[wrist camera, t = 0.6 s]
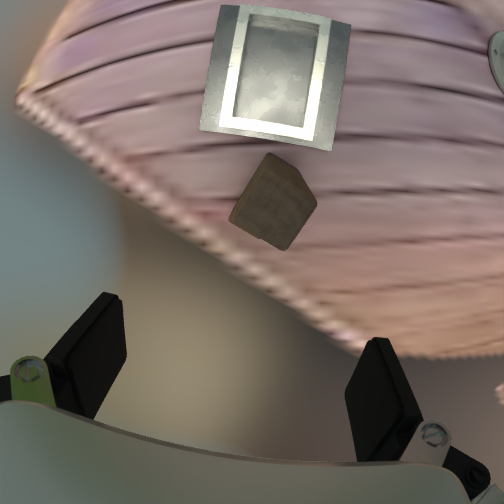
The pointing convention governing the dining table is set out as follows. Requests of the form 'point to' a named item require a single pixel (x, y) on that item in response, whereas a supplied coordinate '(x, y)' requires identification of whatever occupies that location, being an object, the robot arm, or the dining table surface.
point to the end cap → (276, 75)
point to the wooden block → (274, 203)
